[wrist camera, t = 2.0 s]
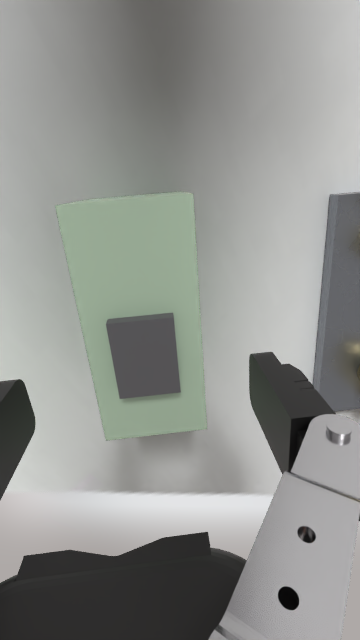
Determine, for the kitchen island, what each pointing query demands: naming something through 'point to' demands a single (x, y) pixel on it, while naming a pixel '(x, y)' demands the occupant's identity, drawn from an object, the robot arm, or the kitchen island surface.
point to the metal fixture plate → (340, 307)
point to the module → (139, 309)
